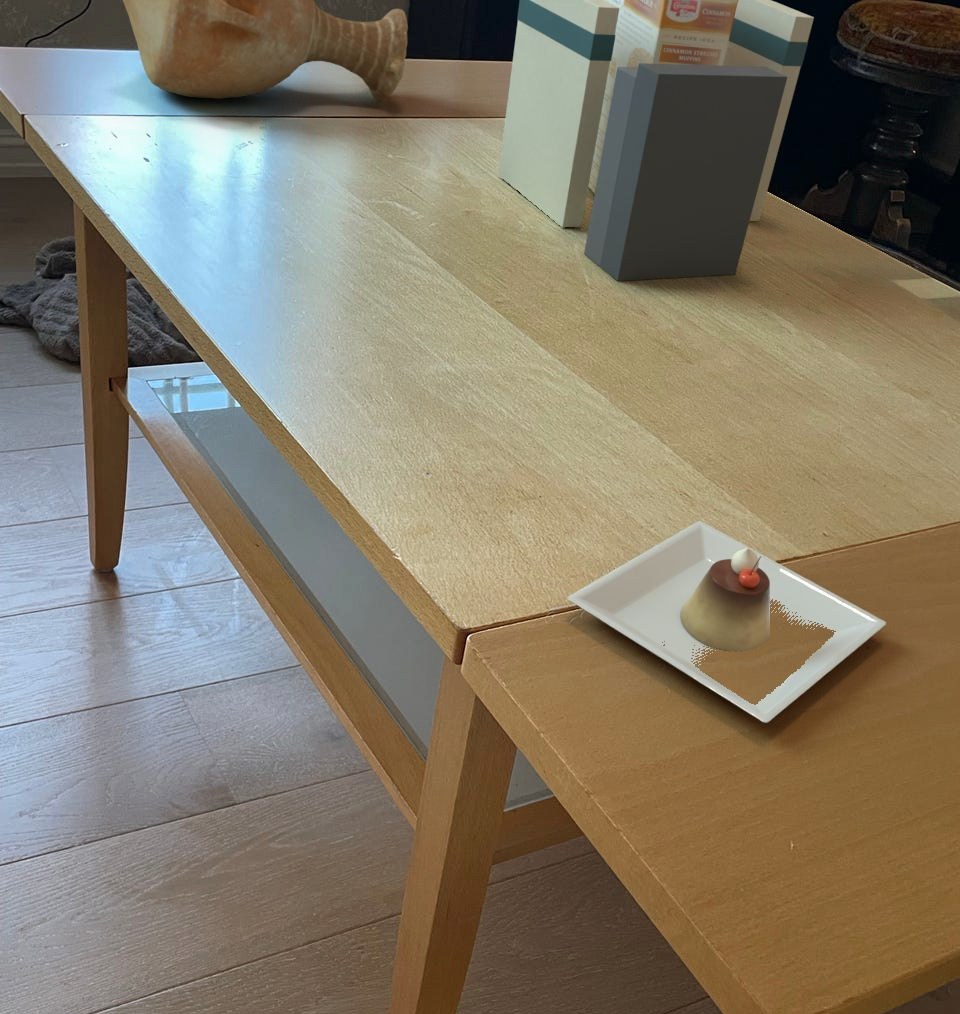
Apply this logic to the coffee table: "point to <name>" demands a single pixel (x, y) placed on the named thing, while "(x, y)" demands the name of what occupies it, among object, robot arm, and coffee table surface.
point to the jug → (260, 45)
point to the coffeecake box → (664, 43)
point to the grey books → (681, 168)
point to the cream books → (581, 87)
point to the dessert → (721, 609)
